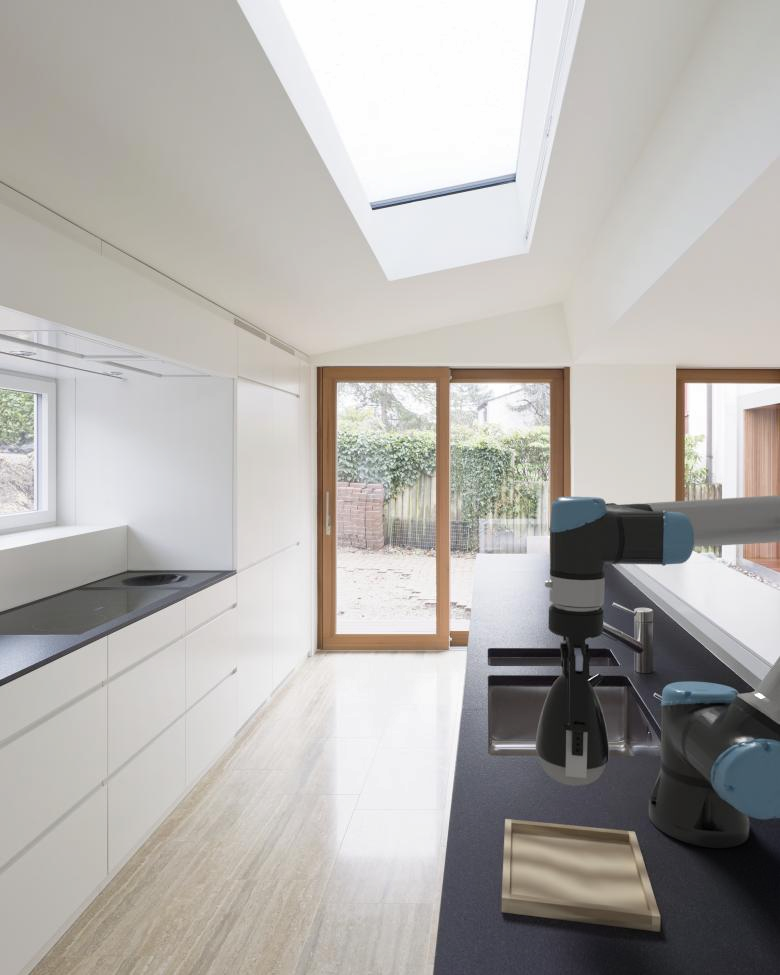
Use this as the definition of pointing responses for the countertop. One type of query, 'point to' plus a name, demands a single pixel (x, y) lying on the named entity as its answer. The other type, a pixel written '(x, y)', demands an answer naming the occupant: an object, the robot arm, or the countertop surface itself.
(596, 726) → the pump dispenser
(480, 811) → the countertop surface
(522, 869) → the birch tray
